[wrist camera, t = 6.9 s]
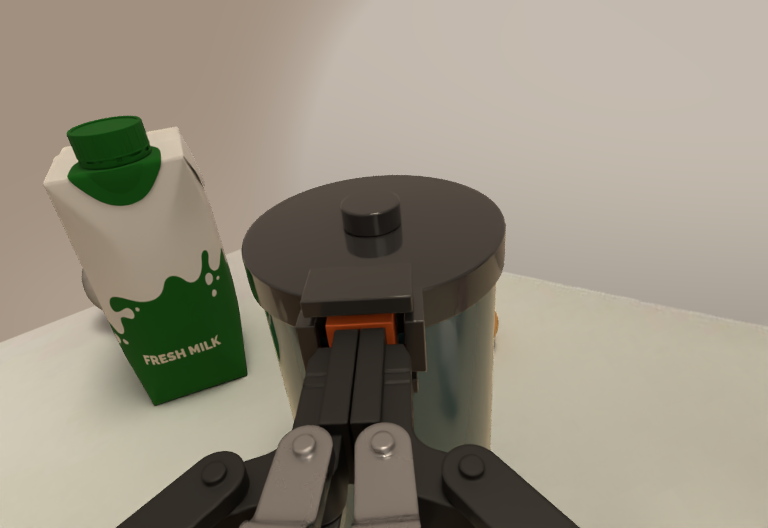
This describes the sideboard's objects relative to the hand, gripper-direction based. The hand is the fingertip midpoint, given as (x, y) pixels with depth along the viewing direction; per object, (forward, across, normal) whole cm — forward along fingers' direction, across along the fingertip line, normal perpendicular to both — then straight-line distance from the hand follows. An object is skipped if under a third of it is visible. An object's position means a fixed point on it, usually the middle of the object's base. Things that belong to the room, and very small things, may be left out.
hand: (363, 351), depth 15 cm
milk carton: (+19, +17, +17) cm, 30 cm away
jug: (+7, 0, +17) cm, 18 cm away
